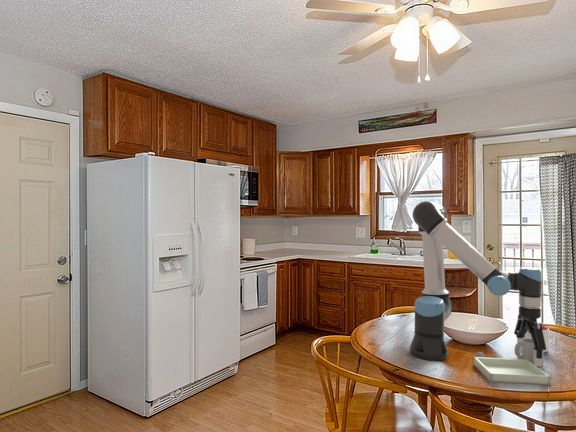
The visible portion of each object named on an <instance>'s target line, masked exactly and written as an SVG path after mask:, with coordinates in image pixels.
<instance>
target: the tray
mask: <svg viewBox="0 0 576 432" xmlns="http://www.w3.org/2000/svg"><path fill="white" fill-rule="evenodd" d="M473 366H474V367H475V368H476V369H477V370H478V371H479V372H480V373H482V375H483V376H484V377H485V378H486V379H487V380H488V381H489V382H490V383H500V384H501V383H502V384H503V383H504V384H520V385H521V384H523V385H537V384H542V385H541V386H551V380H552V379H551V375H549V374H548V373H546V372H545V371H543V370H542V369H541V368H539V367H537V366H535V365H534V364H532V363H531V362H530V361H528V360H525V359H520V358H506V357H505V358H503V357H486V356H485V357H475V356H473Z"/></svg>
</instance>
